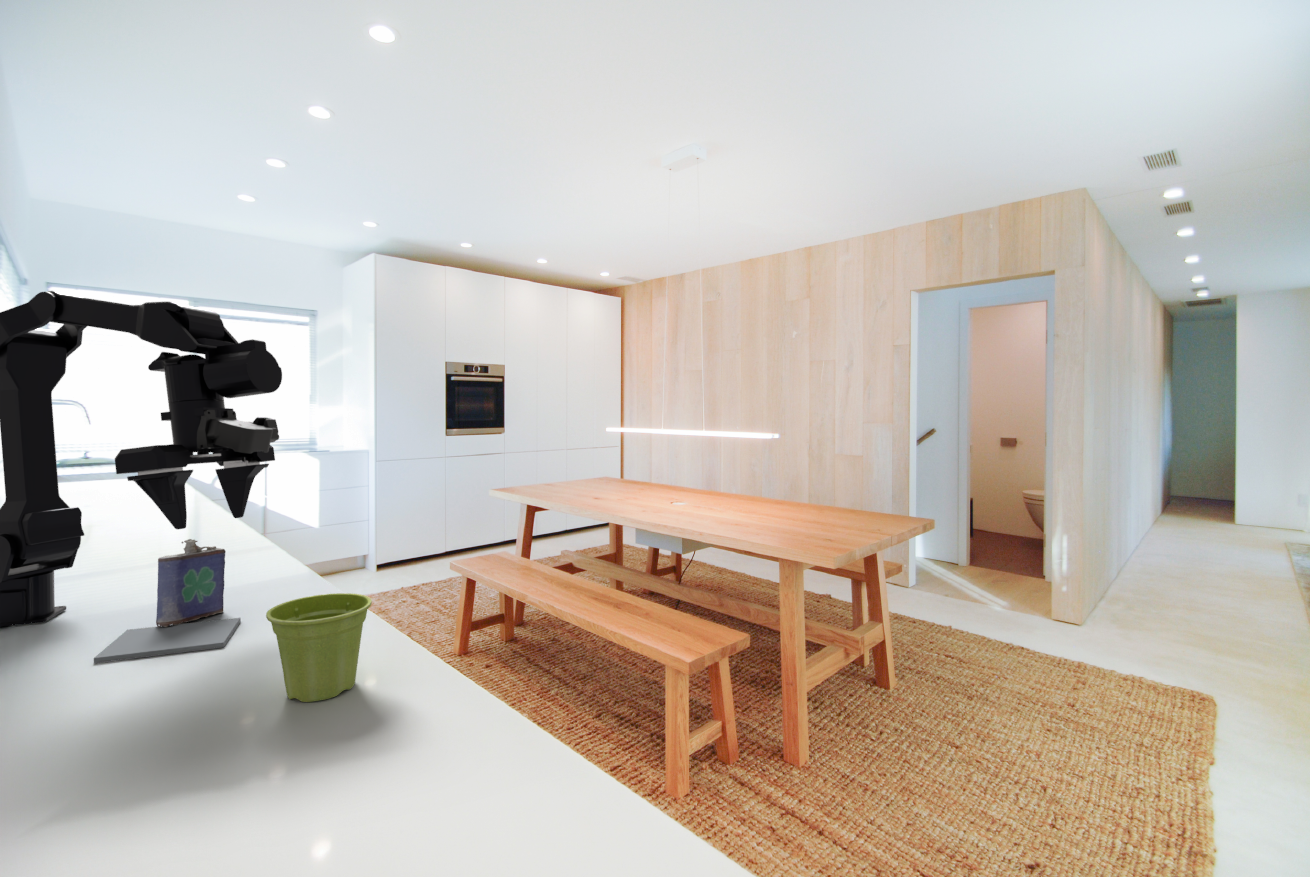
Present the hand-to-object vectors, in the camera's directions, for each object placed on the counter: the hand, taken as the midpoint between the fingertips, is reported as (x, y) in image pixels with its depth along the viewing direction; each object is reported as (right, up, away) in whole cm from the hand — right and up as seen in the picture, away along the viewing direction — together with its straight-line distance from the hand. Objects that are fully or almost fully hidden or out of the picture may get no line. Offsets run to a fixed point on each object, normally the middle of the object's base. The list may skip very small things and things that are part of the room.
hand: (211, 523), depth 77 cm
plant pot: (+23, -15, -16) cm, 32 cm away
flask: (-6, -14, +4) cm, 16 cm away
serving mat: (-2, -14, -3) cm, 15 cm away
